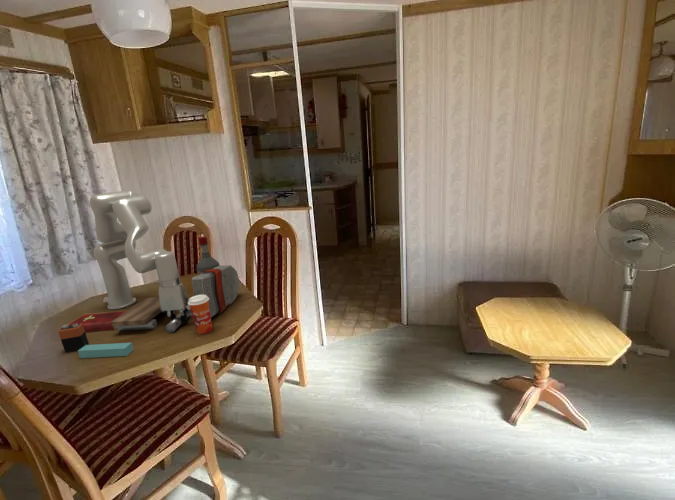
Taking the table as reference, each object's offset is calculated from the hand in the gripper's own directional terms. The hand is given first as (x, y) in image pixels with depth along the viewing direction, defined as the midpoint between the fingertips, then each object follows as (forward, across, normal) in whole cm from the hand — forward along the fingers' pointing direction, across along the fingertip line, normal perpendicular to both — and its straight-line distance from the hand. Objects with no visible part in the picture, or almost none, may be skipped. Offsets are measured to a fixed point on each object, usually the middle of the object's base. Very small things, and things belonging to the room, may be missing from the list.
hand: (179, 323), depth 152 cm
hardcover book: (+1, -38, +4) cm, 38 cm away
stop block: (+1, -17, -21) cm, 27 cm away
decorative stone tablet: (+1, +13, +14) cm, 19 cm away
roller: (0, 0, 0) cm, 0 cm away
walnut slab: (-4, -17, +5) cm, 18 cm away
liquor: (+1, +3, +29) cm, 29 cm away
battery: (+1, -33, -16) cm, 37 cm away
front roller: (+1, -17, -2) cm, 17 cm away
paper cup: (+1, +14, -7) cm, 16 cm away
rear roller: (0, -17, +12) cm, 21 cm away
